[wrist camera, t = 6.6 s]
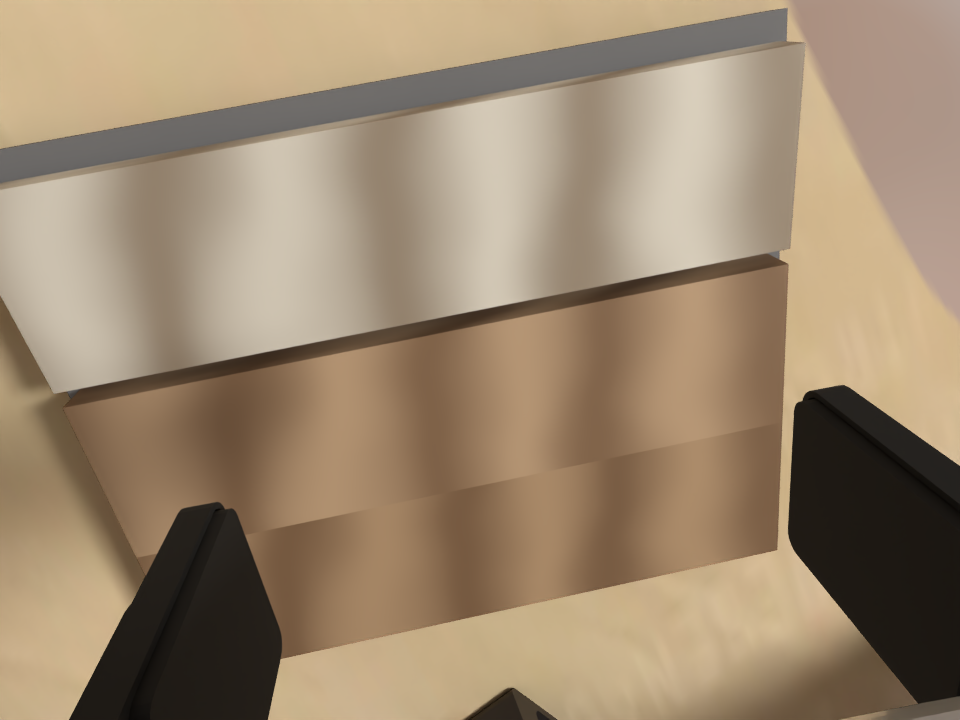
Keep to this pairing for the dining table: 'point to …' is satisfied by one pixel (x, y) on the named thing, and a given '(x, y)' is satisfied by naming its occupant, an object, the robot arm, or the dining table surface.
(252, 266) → the loose plank
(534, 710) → the phone stand
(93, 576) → the dining table surface
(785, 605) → the dining table surface
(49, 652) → the dining table surface
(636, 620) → the dining table surface
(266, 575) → the floor panel
